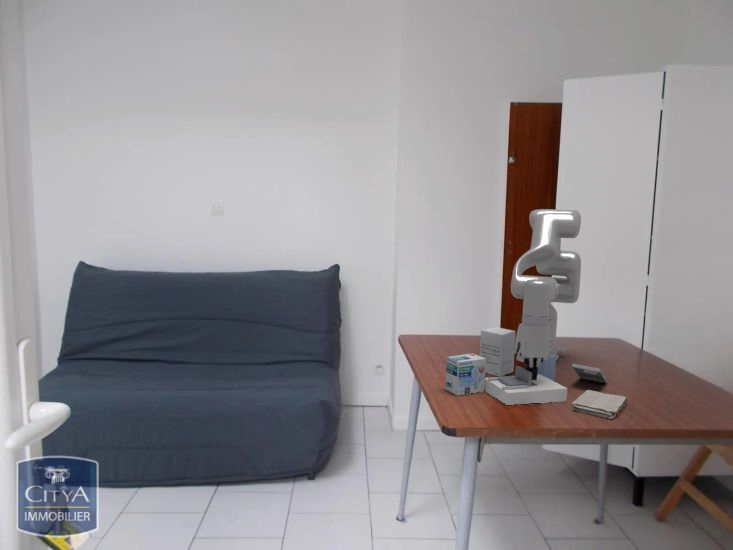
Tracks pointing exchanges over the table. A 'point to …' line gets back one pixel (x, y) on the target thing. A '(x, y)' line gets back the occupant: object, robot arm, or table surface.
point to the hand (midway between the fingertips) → (531, 378)
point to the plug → (548, 368)
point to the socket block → (526, 391)
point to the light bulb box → (465, 374)
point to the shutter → (518, 378)
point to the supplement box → (498, 350)
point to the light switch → (589, 373)
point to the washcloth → (599, 404)
